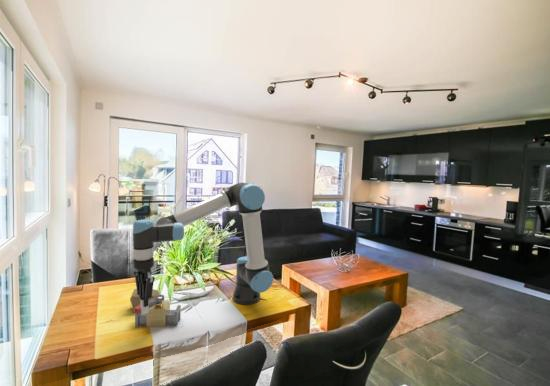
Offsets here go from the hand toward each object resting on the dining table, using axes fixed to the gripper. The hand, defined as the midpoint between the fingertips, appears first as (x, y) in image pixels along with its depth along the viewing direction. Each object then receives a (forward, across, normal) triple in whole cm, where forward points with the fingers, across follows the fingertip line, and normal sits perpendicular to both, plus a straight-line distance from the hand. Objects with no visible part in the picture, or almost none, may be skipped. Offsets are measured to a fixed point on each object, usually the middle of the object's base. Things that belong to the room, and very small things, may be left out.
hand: (144, 313), depth 115 cm
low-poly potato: (+10, +24, -12) cm, 28 cm away
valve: (+10, +5, -9) cm, 14 cm away
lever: (0, +4, -4) cm, 6 cm away
